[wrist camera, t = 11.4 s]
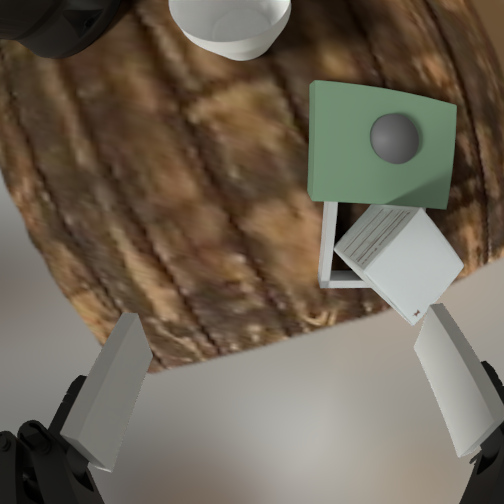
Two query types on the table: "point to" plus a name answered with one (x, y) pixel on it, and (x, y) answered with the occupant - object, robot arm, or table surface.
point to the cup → (232, 24)
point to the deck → (375, 156)
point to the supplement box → (400, 257)
